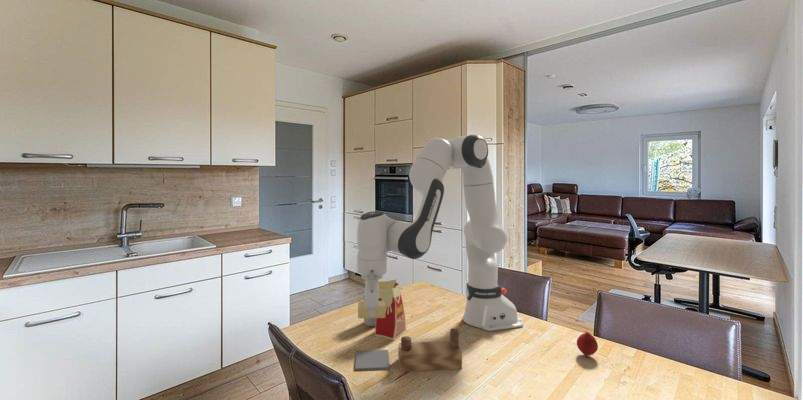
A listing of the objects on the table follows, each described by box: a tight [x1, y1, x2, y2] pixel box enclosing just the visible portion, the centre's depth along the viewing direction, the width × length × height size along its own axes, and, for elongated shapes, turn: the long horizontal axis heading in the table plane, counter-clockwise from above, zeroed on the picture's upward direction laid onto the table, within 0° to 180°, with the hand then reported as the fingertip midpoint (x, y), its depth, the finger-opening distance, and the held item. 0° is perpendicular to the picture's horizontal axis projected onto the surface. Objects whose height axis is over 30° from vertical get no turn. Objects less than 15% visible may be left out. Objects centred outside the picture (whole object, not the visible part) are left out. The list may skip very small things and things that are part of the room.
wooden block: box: [357, 300, 385, 319], centre depth 107 cm, size 8×4×4 cm, turn 95°
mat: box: [354, 349, 391, 371], centre depth 108 cm, size 10×10×1 cm
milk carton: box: [374, 278, 407, 342], centre depth 126 cm, size 9×9×20 cm
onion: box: [576, 330, 599, 357], centre depth 111 cm, size 6×6×8 cm
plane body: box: [398, 328, 463, 372], centre depth 106 cm, size 18×7×10 cm, turn 95°
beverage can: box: [363, 294, 376, 328], centre depth 134 cm, size 6×6×12 cm
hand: (371, 311), depth 107 cm, fingers closed on wooden block, 4 cm apart
